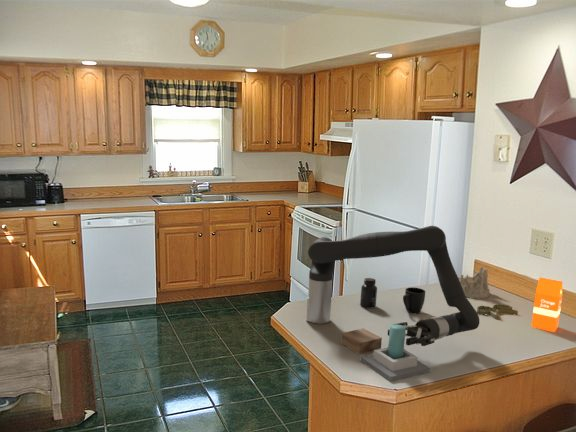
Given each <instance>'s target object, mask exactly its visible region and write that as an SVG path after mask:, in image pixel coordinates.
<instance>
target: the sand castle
mask: <svg viewBox="0 0 576 432" xmlns="http://www.w3.org/2000/svg"><path fill="white" fill-rule="evenodd" d="M473 273H474V274H473V277H471V276H469V275H468V274H466V275H465V276H464V274H460V276H459V277H458V279H459V281H460V283H461V286H462V288H463V291H464V294H465V296H466V298H470V297H472V298H471V299H477V298H481V299H486V298H488V296H490V292H491V291H490V288H489V282H488V276H489V275H488V269H487V268H484V266H480V267H479V270H478V271H477V270H476V271H474V272H473ZM485 297H486V298H485Z"/></svg>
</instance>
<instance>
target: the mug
mask: <svg viewBox="0 0 576 432" xmlns="http://www.w3.org/2000/svg"><path fill="white" fill-rule="evenodd" d="M402 296H403V297H402V302H403V304H404V307H405V308H404V309H405V310H406V312H407V313H409V314H413V315H418V314H421V311H422V309H423V307H424V304H425V300H426V290H425V289H424V288H420V287H407V288H405V293H404V295H402Z"/></svg>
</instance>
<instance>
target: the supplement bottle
mask: <svg viewBox="0 0 576 432" xmlns="http://www.w3.org/2000/svg"><path fill="white" fill-rule="evenodd" d="M376 282H377V281H376V279H375V278H372V277H365V278H364V281H363V284H362V285H361V287H360V288H361V290H360V302H359V305H360V306H361V307H363V308H365V309H373V308H375V307H376V306H377V297H378V296H377V295H378V287H377V285H376Z"/></svg>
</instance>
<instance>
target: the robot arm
mask: <svg viewBox="0 0 576 432" xmlns="http://www.w3.org/2000/svg"><path fill="white" fill-rule="evenodd" d="M448 250H449V249H448V246H447V237H446V234H445V232H444V231H443V229H441V228H440V227H439V226H436V225H428V226H425V227H420V228H417V229H411V230H405V231H377V232H369V233H364V234H358V235H357V236H352V237H350V238H347V239H341V240H332V239H330V238H329V237H326V236H322V237H318V238H317V239H316V240H314V241H313V242H312V243H311V244H310V245H309V247H308V251H307V255H308V257H309V259H310V260H311V266H310V268H309V269H310V270H309V273H308V275H309V277H308V292H307V293H308V295H307V303H306V322H310V323H313V324H322V325H323V324H328V323H329V322H330V321H331V311H332V310H331V308H332V307H331V306H332V296H333V295H332V293H333V277H334V276H333V275H334V271H335V263H336V261H342V260H350V259H353V260H354V259H355V260H357V259H367V258H368V259H372V258H380V257H382V258H383V257H387V256H393V255H397V254H400V253H404V252H412V251H413V252H415V251H417V252H418V251H419V252H422V251H424V252H427V253H428V255H429V257H430V258H431V261H432V263H433V265H434V266H433V267H434V268H435V271H436V275H437V278H438V282H439V285H440V288H441V292H442V294H443V297H444V299H445V302H446V304H447V306H448V307H450V308H456V309H457V310H458V311H457V312H454V313H451V314H445V315H440V316H433V317H430V318H429V317H427V318H424V319H421V320H418V321H417V322H416V323H415V324H413V325H412V324H411V325H408V322H407V321H405V322H398V323H395V324H392V325H402V326H404V327H405V328H406V329H405V331H406V333H405V337H407V338H405V345H406V346H407V347H408V346H411V345H420V346H421V347H426V346H430V345H432V344H434V343H436V340H440V339H443V338H446V337H449V336H453V335H455V334H458V333H462V332H463V333H464V332H468V331H473V330H477V329H478V327H479V326H480V323H481V322H480V316H479V314H477V309H475V307H474V306H473V305H472V303H471V301H469V299H468V297H466V296H465V294H464V291H463V288H462V286H461V283H460V281H459V279H458V274H457V272H456V270H455V268H454V265H453V263H452V260H451V257H450V254H449V251H448ZM389 332H390V328H389V329H387V336H388V337H389Z"/></svg>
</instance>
